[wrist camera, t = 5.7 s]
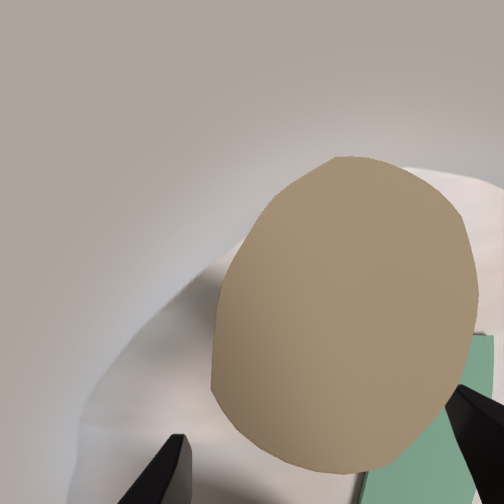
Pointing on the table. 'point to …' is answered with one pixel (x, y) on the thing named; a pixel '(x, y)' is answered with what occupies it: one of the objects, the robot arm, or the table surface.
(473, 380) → the mat
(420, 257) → the handle
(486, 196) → the table surface
